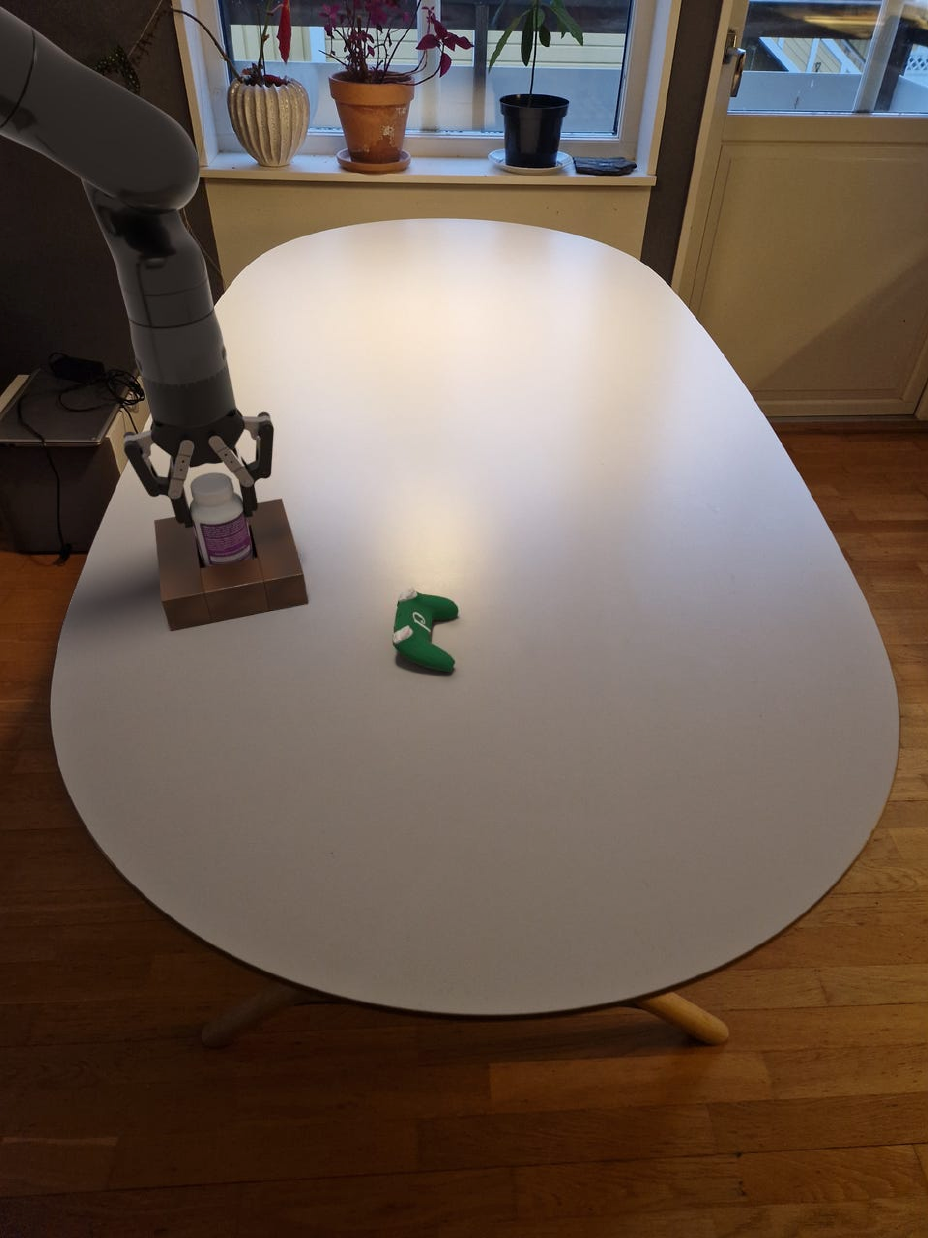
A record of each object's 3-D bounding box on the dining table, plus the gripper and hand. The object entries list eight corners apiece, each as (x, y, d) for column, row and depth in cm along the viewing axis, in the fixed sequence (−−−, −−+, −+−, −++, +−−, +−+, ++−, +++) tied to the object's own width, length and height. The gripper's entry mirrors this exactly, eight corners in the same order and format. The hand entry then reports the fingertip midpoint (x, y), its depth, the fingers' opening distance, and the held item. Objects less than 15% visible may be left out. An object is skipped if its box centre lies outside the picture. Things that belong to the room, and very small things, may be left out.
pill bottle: (265, 554, 91) (250, 477, 85) (231, 582, 88) (213, 504, 81) (226, 538, 93) (209, 462, 87) (191, 565, 90) (171, 487, 83)
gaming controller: (436, 623, 89) (393, 591, 87) (462, 604, 88) (418, 571, 85) (430, 688, 83) (383, 656, 80) (458, 669, 81) (411, 635, 78)
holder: (170, 631, 86) (161, 600, 83) (162, 549, 95) (153, 520, 93) (308, 603, 89) (303, 573, 86) (286, 527, 99) (281, 498, 96)
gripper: (259, 332, 80) (283, 486, 91) (96, 353, 77) (143, 509, 88) (271, 368, 75) (295, 526, 86) (97, 392, 71) (146, 553, 83)
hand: (218, 517), depth 87 cm, fingers closed on pill bottle, 5 cm apart
